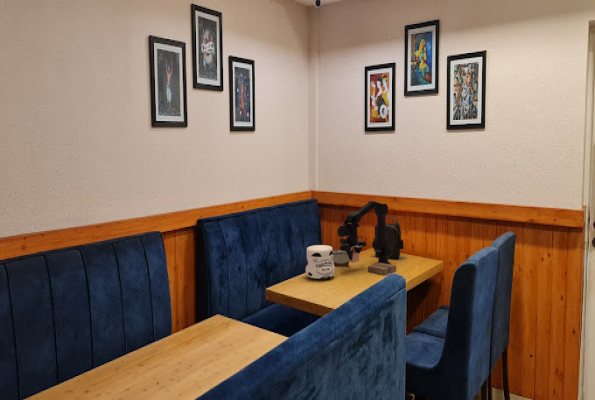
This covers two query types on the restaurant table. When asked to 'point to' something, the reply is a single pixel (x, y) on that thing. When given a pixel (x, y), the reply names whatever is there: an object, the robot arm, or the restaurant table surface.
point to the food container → (340, 258)
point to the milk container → (320, 262)
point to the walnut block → (382, 269)
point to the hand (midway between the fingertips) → (353, 259)
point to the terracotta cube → (354, 257)
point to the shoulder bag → (391, 240)
